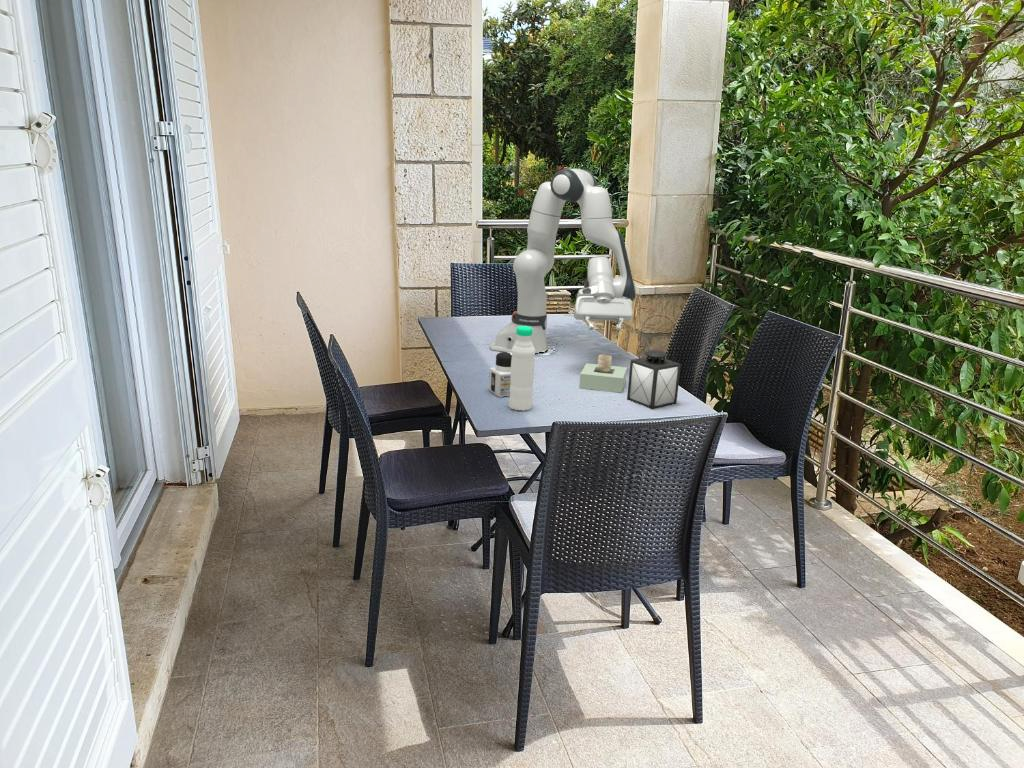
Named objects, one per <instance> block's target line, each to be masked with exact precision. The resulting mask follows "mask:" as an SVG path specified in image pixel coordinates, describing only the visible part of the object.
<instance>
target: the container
mask: <svg viewBox="0 0 1024 768" xmlns="http://www.w3.org/2000/svg"><path fill="white" fill-rule="evenodd" d="M511 359H512V353H510V352H503V351H500V352H499V353H497V354H496V355H495V366H494V367H490V368H489V381H488V382H489V385H488V391H489V392H491V394H493V395H495V396H497V397H498V398H504V397H503V396H507V397H510V385H511V379H510V375H511Z"/></svg>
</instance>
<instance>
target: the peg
mask: <svg viewBox="0 0 1024 768" xmlns="http://www.w3.org/2000/svg"><path fill="white" fill-rule="evenodd" d="M612 359H613V356H612V355H609V354H598V359H597V364H598V368H597V372H598V373H608V374H610V372H611V366H612Z"/></svg>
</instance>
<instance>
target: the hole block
mask: <svg viewBox="0 0 1024 768" xmlns="http://www.w3.org/2000/svg"><path fill="white" fill-rule="evenodd" d="M597 368H598V363H587V362H586V363H585V365H584V367H583V369H582V370H581V372H580V374H579V389H581V388H582V390H583V389H584V390H591V389H593V390H592V391H600V390H602V391H603V392H609V391H610V393H618V392H621V393H620V394H622V393H623V391H624V388H625V385H626V381H627V374H628V373H627V372H628V367H627V366H626V367H625V366H617V365H611V372H610V374H608V373H598V372H597Z"/></svg>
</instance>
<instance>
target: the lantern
mask: <svg viewBox="0 0 1024 768" xmlns="http://www.w3.org/2000/svg"><path fill="white" fill-rule="evenodd" d="M654 317H664V318H666V319H668V320H669V321H670V322H671V323H672V326H673V330H674V332H676V327H675V324H674V323H673V321H672V320H671V319H670V318H669V317H667V316H665V315H662V314H661V315H659V314H657V315H652V316H650V317H648V318H647V319H646V320H645V321H644V323H643V324H642V327H641V331H640V334H642V333H643V329H644V326H645V324H646V322H647V321H648V320H649V319H651V318H654ZM639 338H640V339H639V346H641V343H642V342H641V341H642V335H640V337H639ZM675 345H676V340H674V341H673V350H675V347H676V346H675ZM638 355H639V356H638V358H634V359H630V362H629V363H630V364H629V372H628V373H629V375H628V385H627V394H626V395H627V396H626V400H627V401H629V400H630V402H632V401H633V403H635V404H637V403H638V405H640V406H642V405H643V406H642V407H645V408H648V409H650V410H656V409H659V408H664V407H668V406H672V404H673V405H674V404H675V405H677V403H678V402H677V401H678V391H679V383H680V382H679V381H680V374H681V367H682V366H681V365H682V364H681V363H679V362H676V361H675V360H674V359H675V352H673V353H672V355H673V356H672V360H670V359H667V358H666V357H668V356H669V355H668V354H667V353H666V352H665V351H663V350H658V349H650V350H649V349H648V351H646V352H645V353H644V355H645V357H641V353H639V354H638Z"/></svg>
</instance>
